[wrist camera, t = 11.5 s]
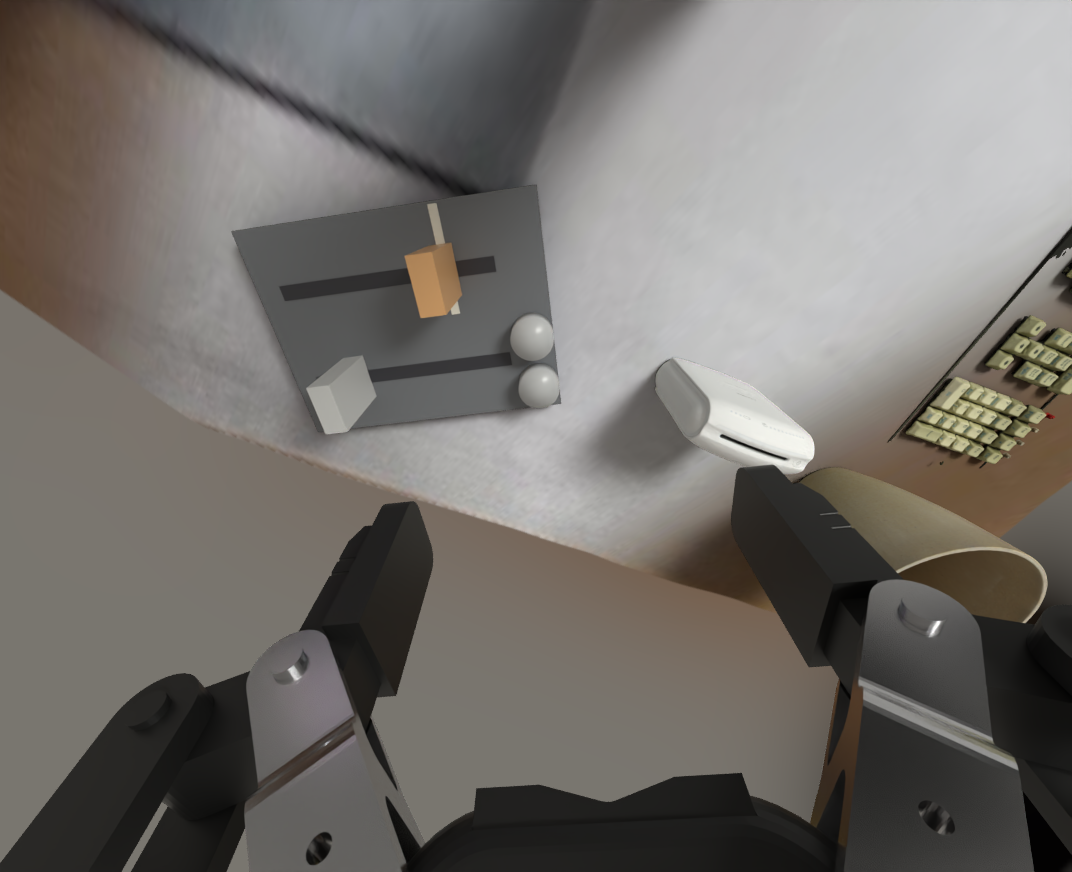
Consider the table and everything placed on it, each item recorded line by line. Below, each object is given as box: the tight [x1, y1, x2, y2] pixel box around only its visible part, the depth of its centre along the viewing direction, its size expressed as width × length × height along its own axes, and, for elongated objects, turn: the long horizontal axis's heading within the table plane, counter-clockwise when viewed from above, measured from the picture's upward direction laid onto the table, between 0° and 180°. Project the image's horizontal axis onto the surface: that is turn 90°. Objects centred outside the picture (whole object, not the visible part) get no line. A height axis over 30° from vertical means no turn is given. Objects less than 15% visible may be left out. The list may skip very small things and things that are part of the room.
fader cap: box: [405, 242, 462, 318], centre depth 31 cm, size 4×2×7 cm, turn 8°
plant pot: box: [799, 467, 1047, 623], centre depth 41 cm, size 15×15×16 cm
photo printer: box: [655, 358, 814, 474], centre depth 36 cm, size 10×4×12 cm, turn 69°
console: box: [231, 185, 561, 434], centre depth 34 cm, size 18×24×9 cm
